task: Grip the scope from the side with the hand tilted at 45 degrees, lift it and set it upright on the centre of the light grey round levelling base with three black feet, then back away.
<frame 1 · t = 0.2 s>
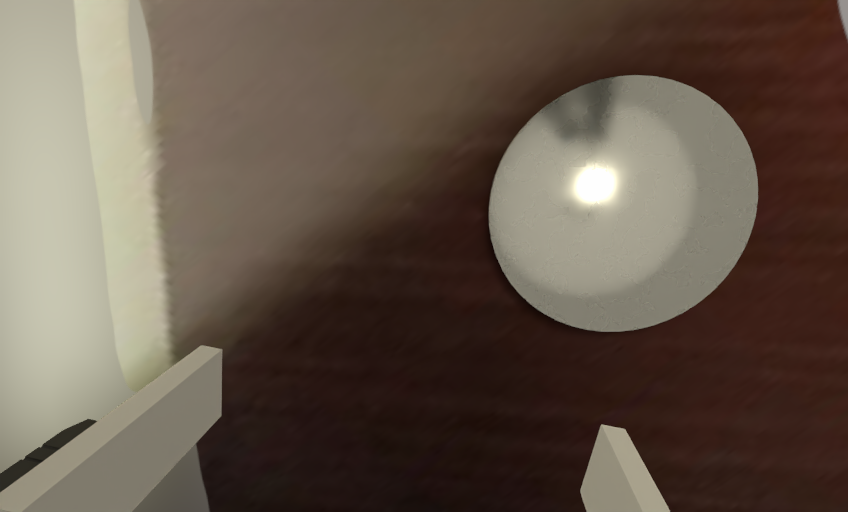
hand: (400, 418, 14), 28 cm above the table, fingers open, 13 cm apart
levelling base: (604, 208, 38), on the table
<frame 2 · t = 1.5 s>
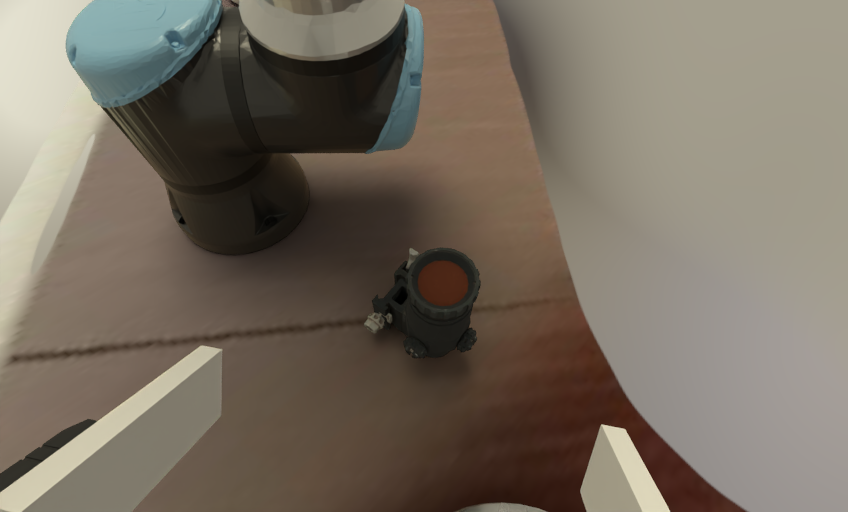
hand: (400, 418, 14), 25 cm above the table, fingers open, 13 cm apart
scope: (426, 331, 42), on the table
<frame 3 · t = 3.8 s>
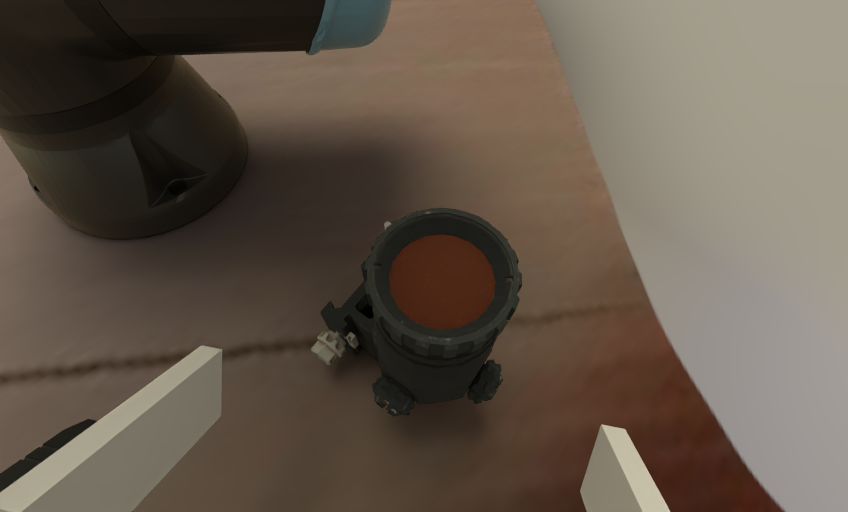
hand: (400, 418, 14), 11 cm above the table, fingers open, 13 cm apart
scope: (416, 359, 26), on the table
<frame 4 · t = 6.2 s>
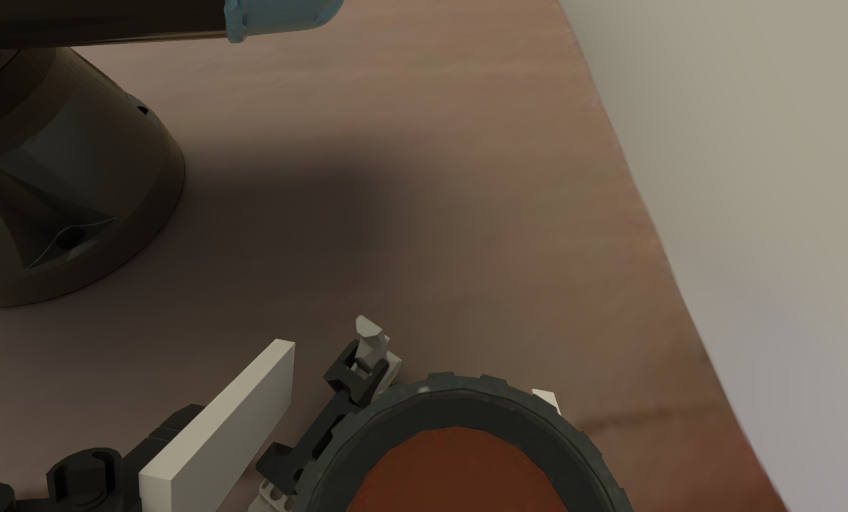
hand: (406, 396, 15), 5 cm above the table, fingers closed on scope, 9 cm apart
scope: (411, 494, 18), on the table, touching gripper
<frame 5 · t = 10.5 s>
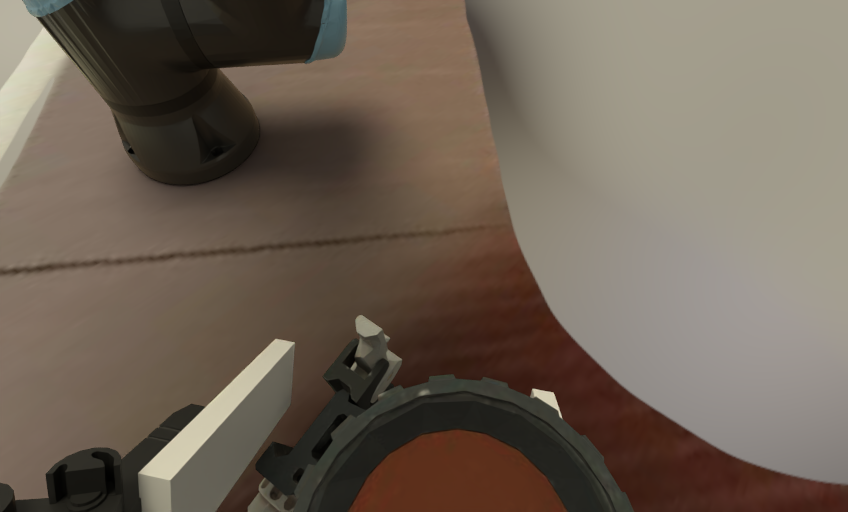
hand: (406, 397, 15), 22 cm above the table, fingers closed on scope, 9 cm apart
scope: (410, 493, 18), point 17 cm above the table, touching gripper
when the fingers open (10 cm above the table, at t = 14.5 s): scope drops 1 cm, resting on levelling base.
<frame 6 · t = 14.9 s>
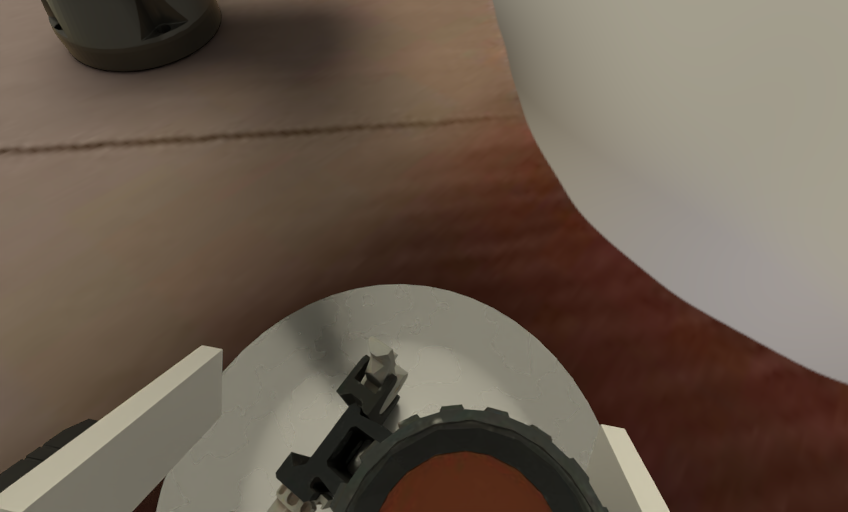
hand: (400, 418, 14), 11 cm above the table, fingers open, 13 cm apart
levelling base: (396, 491, 22), on the table
scope: (416, 498, 19), point 3 cm above the table, touching levelling base
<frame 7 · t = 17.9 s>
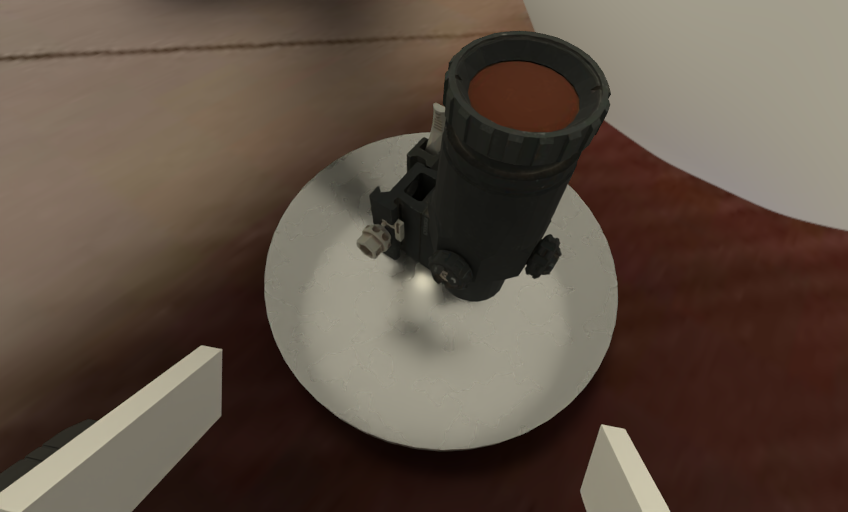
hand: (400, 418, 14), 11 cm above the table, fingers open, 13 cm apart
levelling base: (438, 281, 29), on the table
scope: (458, 262, 26), point 3 cm above the table, touching levelling base
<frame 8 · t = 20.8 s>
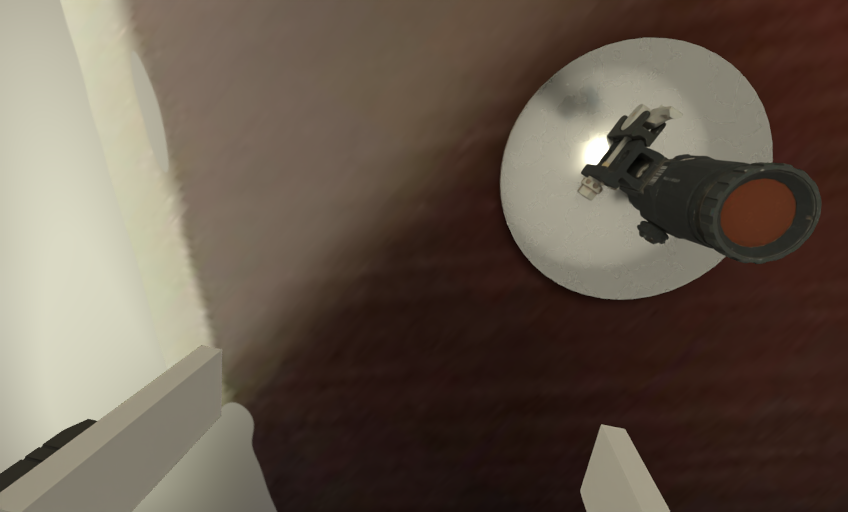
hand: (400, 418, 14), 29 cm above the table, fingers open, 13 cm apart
levelling base: (616, 176, 38), on the table
scope: (642, 181, 35), point 3 cm above the table, touching levelling base
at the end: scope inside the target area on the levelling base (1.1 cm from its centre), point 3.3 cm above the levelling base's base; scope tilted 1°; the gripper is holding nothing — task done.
